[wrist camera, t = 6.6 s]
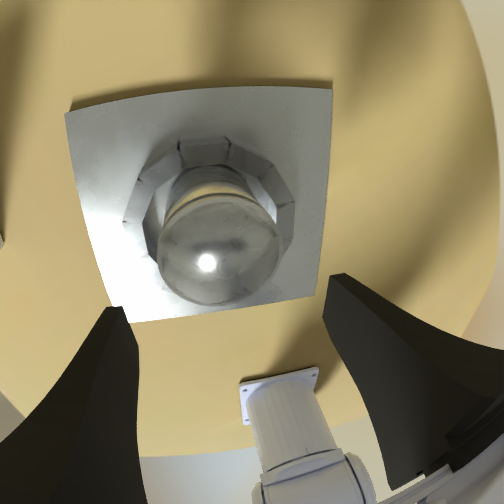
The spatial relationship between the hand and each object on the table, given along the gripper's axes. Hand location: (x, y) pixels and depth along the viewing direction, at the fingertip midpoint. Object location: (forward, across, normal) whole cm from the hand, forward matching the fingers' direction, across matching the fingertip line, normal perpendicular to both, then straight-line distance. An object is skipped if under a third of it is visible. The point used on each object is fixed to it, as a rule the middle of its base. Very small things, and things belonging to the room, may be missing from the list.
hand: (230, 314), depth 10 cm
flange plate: (+8, 0, 0) cm, 8 cm away
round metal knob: (+8, 0, -1) cm, 8 cm away
